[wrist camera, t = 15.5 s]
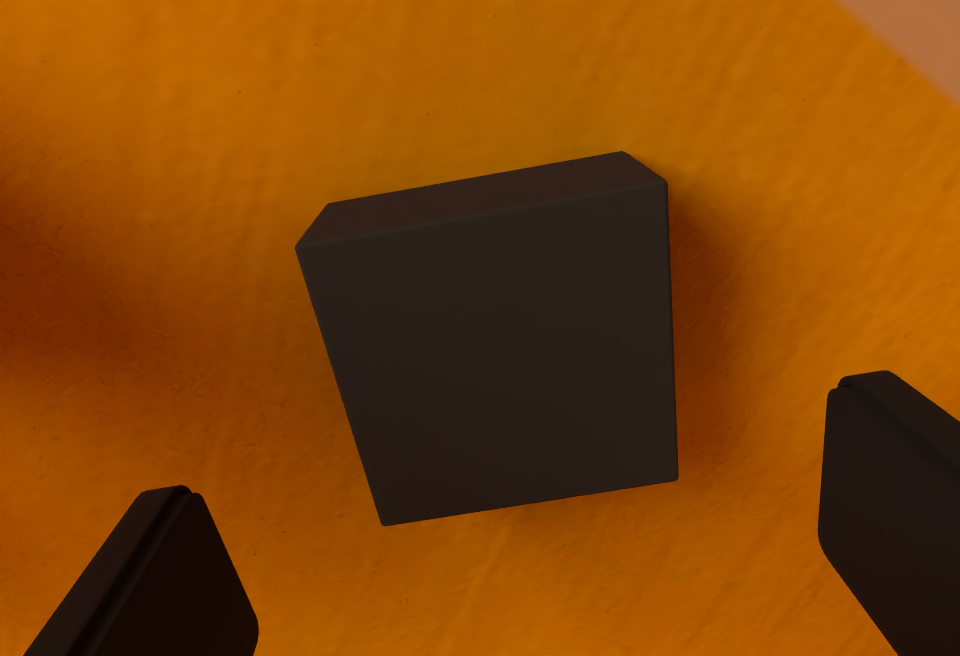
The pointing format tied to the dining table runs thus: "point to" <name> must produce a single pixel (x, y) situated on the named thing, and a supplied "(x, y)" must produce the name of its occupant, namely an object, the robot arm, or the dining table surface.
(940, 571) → the robot arm
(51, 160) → the dining table surface
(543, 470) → the pad
